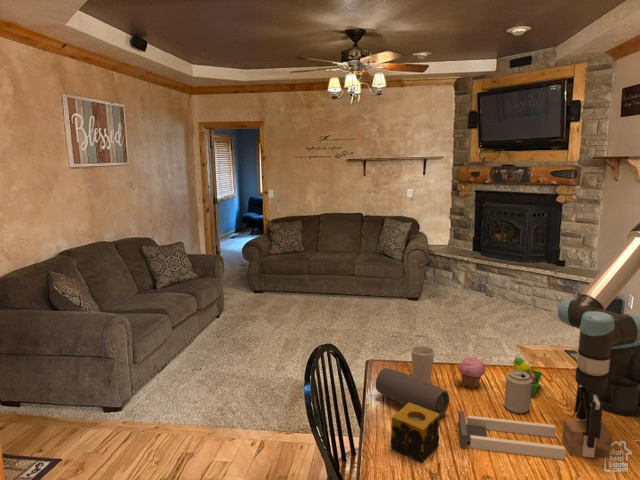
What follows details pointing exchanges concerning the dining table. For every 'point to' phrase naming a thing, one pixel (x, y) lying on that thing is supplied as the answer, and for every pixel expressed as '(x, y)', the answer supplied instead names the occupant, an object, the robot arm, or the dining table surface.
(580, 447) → the block
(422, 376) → the cup
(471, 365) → the cupcake
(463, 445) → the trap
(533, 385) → the fruit basket
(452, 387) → the dining table surface
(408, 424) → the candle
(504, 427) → the channel
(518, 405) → the can
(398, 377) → the bluetooth speaker
